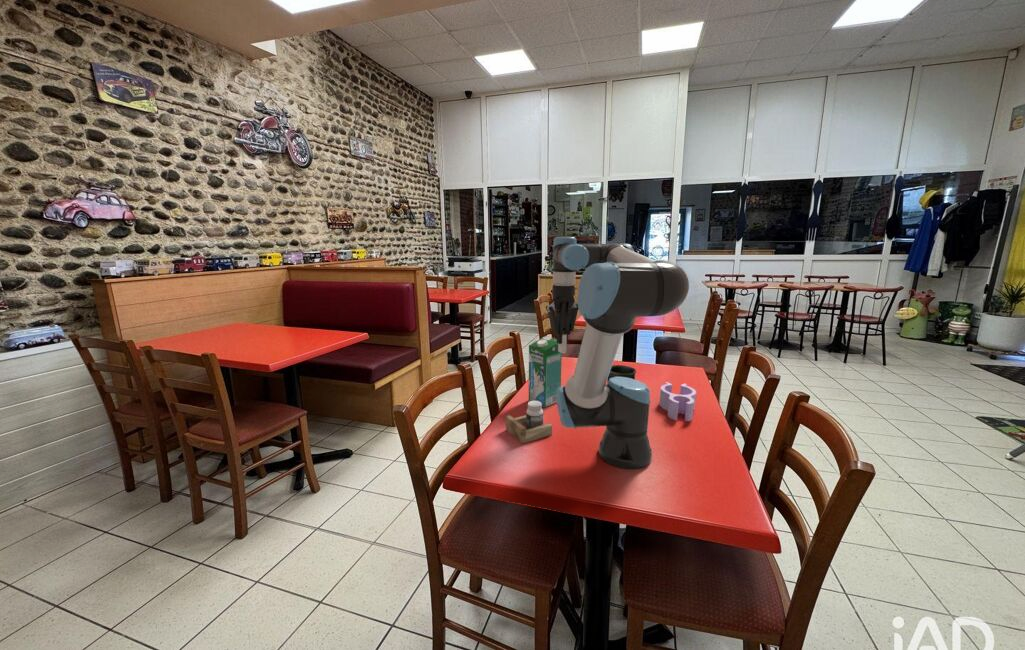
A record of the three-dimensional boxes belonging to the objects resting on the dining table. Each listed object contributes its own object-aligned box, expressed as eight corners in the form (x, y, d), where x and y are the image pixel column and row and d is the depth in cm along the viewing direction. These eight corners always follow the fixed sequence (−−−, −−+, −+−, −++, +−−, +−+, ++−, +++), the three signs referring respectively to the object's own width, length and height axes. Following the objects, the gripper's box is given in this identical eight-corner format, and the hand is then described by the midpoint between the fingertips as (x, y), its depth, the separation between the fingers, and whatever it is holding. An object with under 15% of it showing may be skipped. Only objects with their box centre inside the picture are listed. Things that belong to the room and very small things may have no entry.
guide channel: (552, 434, 132) (552, 420, 131) (521, 443, 127) (521, 429, 126) (535, 422, 141) (535, 408, 140) (506, 429, 136) (505, 416, 135)
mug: (632, 405, 155) (634, 375, 152) (594, 399, 161) (595, 370, 158) (636, 395, 164) (638, 367, 162) (600, 389, 170) (602, 362, 168)
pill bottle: (525, 426, 138) (525, 399, 136) (542, 426, 138) (542, 399, 136) (526, 435, 132) (526, 407, 130) (543, 434, 132) (544, 406, 130)
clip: (700, 423, 140) (702, 405, 139) (662, 419, 143) (664, 401, 142) (691, 400, 159) (692, 384, 158) (657, 397, 162) (659, 381, 161)
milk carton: (528, 400, 160) (528, 339, 154) (544, 394, 165) (545, 335, 160) (544, 407, 153) (545, 344, 147) (560, 401, 159) (562, 339, 153)
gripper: (572, 281, 140) (570, 347, 146) (541, 284, 134) (540, 352, 140) (586, 284, 134) (583, 352, 139) (554, 286, 128) (552, 357, 133)
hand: (562, 352), depth 139 cm, fingers closed
